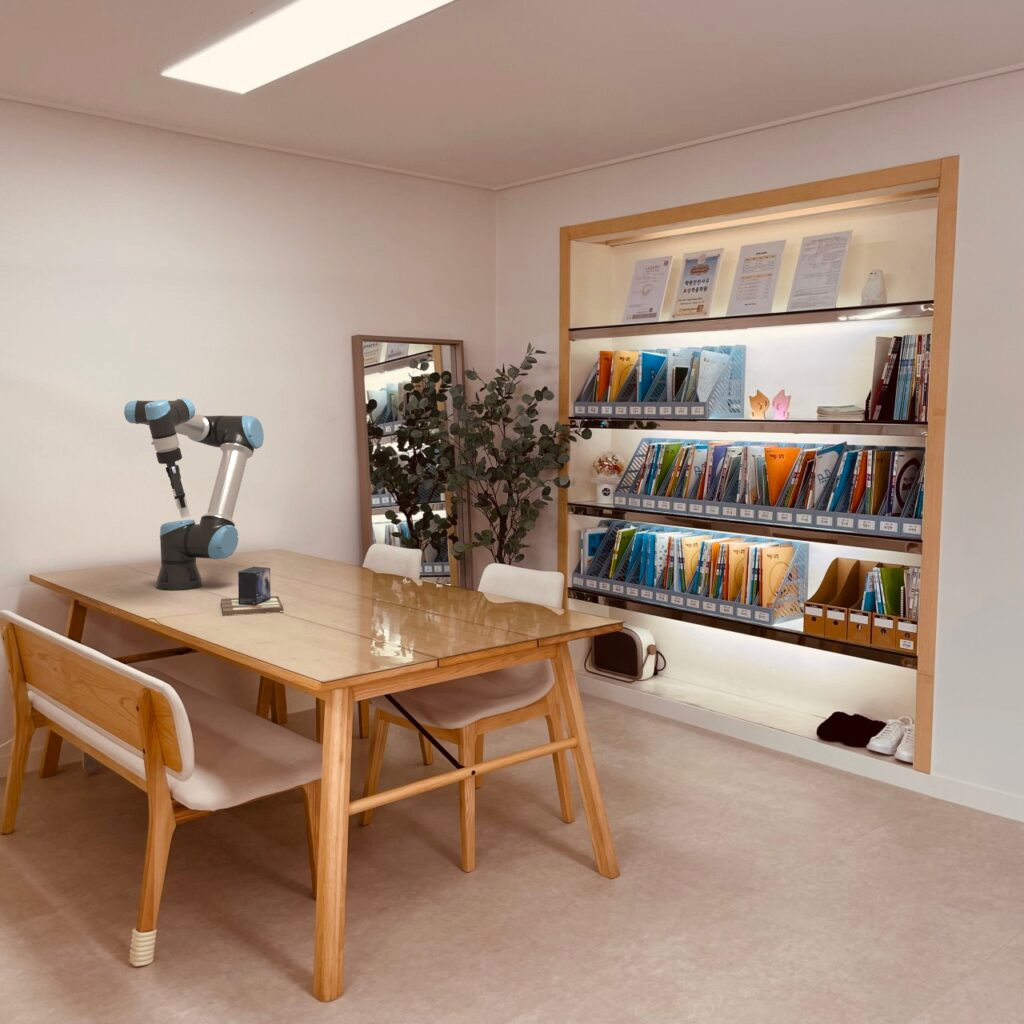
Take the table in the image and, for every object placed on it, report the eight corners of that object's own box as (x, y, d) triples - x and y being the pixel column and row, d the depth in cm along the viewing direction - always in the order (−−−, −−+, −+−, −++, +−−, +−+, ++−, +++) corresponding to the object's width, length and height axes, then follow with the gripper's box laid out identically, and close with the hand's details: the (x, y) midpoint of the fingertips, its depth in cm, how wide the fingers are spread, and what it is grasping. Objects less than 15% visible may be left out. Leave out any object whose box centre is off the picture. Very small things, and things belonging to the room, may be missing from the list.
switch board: (221, 603, 338) (220, 597, 337) (278, 600, 343) (278, 594, 343) (223, 615, 319) (223, 609, 318) (283, 612, 324) (283, 606, 324)
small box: (256, 605, 325) (256, 572, 324) (237, 604, 326) (236, 571, 325) (272, 599, 335) (271, 566, 334) (253, 598, 337) (252, 566, 336)
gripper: (152, 445, 343) (168, 507, 349) (158, 458, 321) (175, 523, 327) (175, 440, 346) (191, 501, 352) (183, 452, 323) (199, 517, 329)
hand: (183, 512), depth 339 cm, fingers open, 13 cm apart
